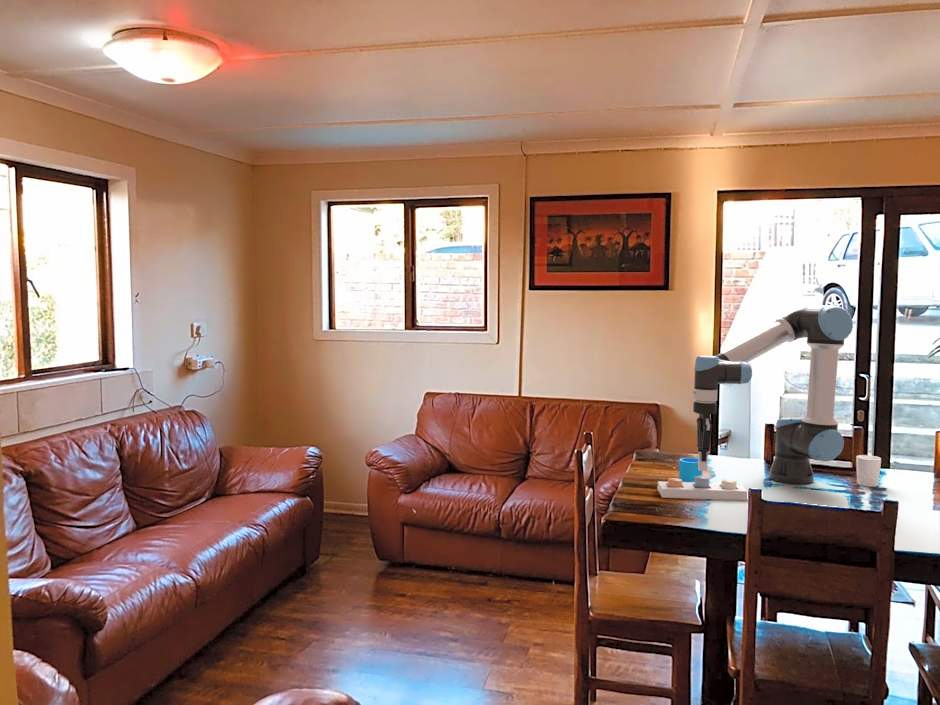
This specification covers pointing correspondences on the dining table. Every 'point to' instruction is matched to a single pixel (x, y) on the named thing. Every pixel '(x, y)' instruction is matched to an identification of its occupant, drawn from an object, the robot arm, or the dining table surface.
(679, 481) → the button terracotta
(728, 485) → the button cream
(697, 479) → the button slate
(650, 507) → the dining table surface
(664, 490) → the button panel
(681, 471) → the mug
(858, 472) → the white cup
